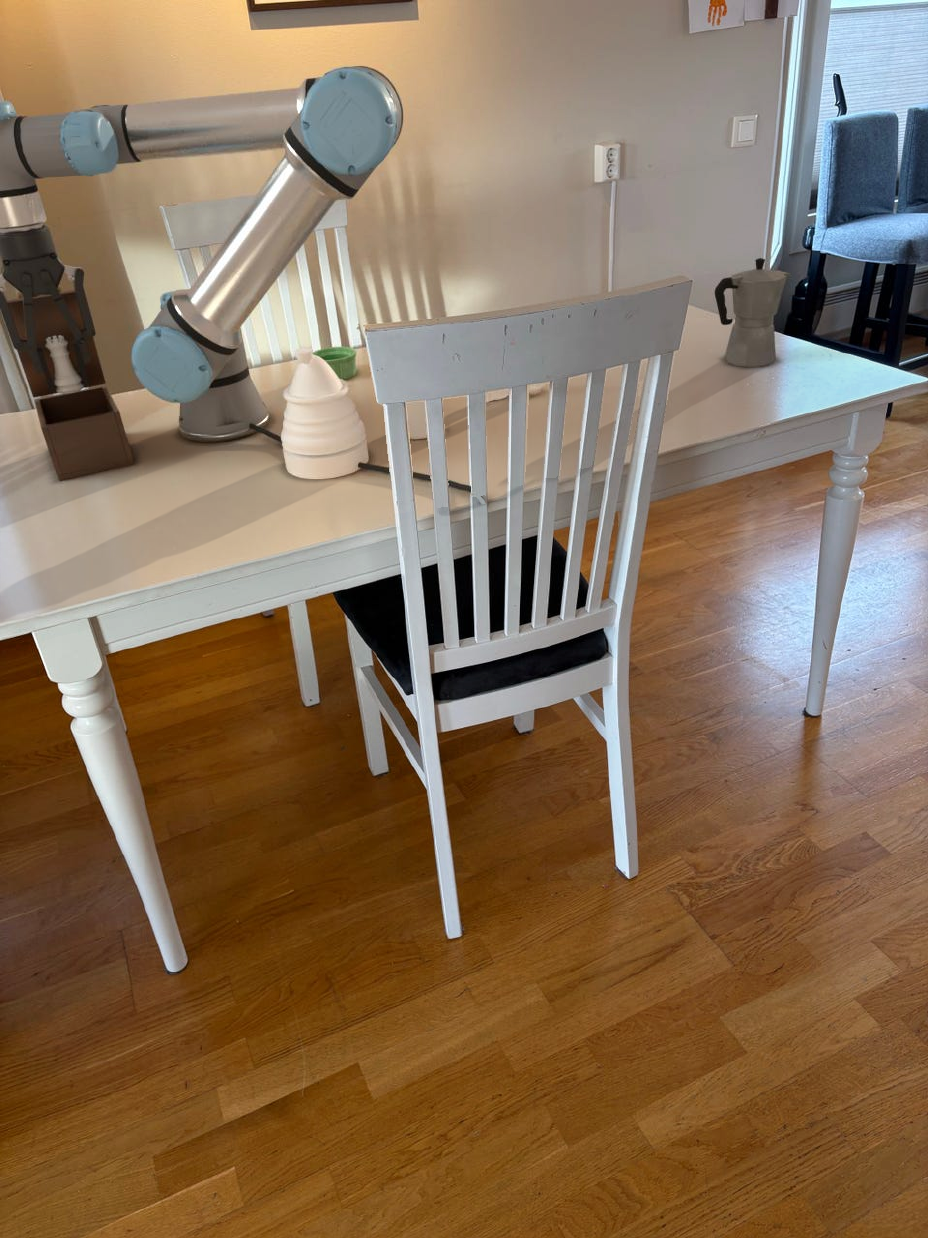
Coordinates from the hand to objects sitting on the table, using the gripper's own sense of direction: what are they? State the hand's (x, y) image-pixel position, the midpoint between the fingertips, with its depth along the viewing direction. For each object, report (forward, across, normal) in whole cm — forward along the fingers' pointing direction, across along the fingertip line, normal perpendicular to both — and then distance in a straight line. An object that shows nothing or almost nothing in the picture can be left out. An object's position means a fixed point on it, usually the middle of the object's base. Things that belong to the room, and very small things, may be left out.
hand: (70, 387), depth 140 cm
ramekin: (+13, -48, -18) cm, 53 cm away
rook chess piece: (0, 0, 0) cm, 0 cm away
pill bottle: (+13, -50, +20) cm, 55 cm away
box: (+12, 0, -3) cm, 13 cm away
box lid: (-5, 0, -8) cm, 9 cm away
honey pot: (+13, -33, +23) cm, 42 cm away
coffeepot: (+12, -115, +23) cm, 118 cm away
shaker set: (+13, -71, +14) cm, 74 cm away
